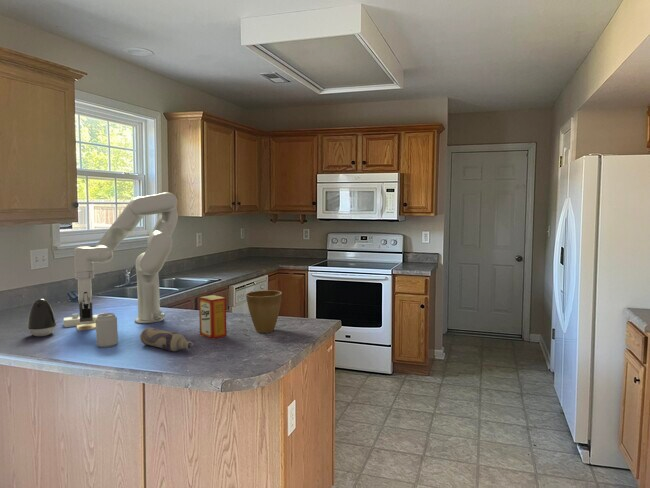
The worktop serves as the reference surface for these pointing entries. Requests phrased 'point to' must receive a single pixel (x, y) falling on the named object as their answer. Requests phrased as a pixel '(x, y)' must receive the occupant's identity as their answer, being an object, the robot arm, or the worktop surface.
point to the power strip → (77, 320)
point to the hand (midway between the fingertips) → (86, 316)
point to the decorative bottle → (165, 339)
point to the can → (106, 330)
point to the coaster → (86, 326)
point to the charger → (81, 312)
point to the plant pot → (264, 309)
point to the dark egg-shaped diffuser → (41, 318)
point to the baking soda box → (212, 316)
